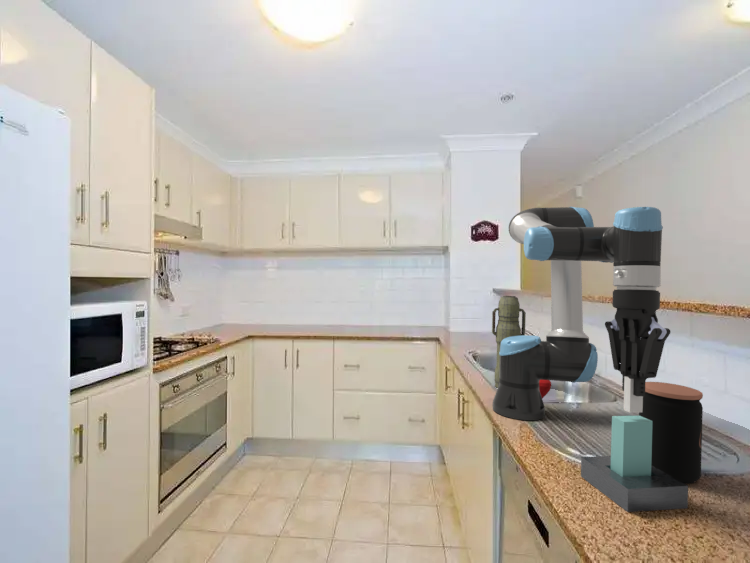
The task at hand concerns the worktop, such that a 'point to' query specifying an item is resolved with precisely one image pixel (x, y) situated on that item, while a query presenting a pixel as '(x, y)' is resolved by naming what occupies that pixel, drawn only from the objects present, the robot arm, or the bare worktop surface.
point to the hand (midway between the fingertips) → (632, 411)
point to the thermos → (506, 325)
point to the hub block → (635, 486)
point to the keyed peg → (631, 446)
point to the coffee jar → (675, 429)
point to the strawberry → (544, 387)
